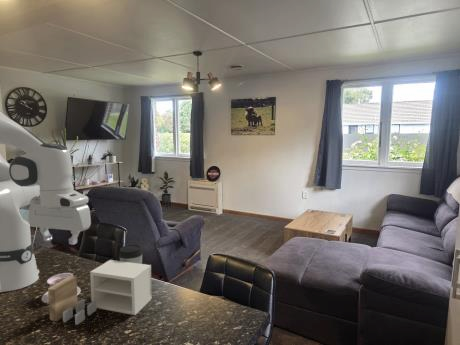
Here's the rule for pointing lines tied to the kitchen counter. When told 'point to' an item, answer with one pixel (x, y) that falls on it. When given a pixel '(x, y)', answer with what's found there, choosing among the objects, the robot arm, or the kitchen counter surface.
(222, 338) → the kitchen counter surface
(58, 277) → the teacup
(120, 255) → the coffee cup
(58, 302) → the door
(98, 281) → the cabinet
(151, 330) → the kitchen counter surface
